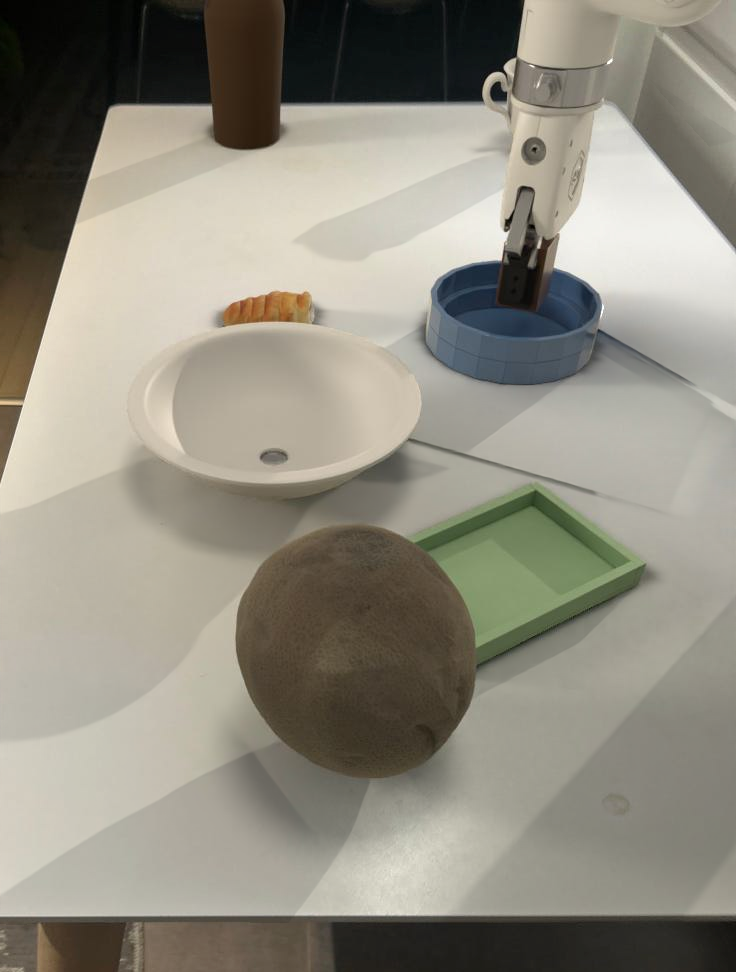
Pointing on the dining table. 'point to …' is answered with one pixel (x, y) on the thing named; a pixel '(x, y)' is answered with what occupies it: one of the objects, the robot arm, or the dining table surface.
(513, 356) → the blue bowl
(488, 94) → the teacup
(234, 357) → the vessel sink basin
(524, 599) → the tray
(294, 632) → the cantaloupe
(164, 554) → the dining table surface
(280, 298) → the pastry
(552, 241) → the block
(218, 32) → the olive oil
